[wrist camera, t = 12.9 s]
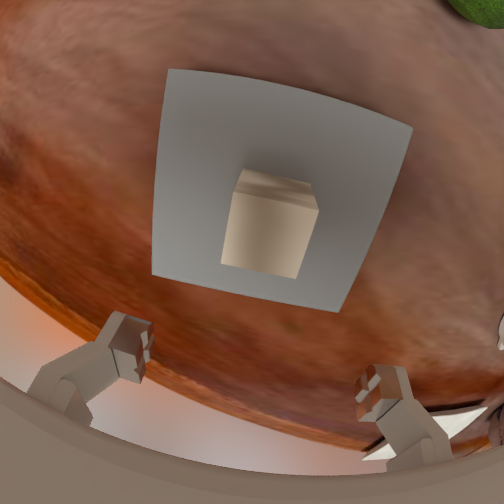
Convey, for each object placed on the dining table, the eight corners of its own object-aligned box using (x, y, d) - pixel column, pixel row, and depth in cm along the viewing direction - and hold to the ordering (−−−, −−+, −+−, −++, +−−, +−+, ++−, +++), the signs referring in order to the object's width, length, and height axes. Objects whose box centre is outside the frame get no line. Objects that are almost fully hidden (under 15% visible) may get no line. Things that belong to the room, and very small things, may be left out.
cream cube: (310, 183, 21) (319, 210, 16) (292, 241, 23) (295, 279, 19) (242, 168, 21) (233, 191, 16) (231, 228, 23) (220, 263, 19)
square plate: (358, 450, 63) (359, 462, 60) (415, 404, 49) (418, 419, 45) (429, 442, 64) (431, 452, 61) (485, 396, 50) (490, 408, 46)
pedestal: (386, 118, 23) (413, 127, 17) (330, 275, 32) (338, 312, 27) (191, 72, 22) (168, 68, 17) (171, 242, 31) (152, 274, 26)
